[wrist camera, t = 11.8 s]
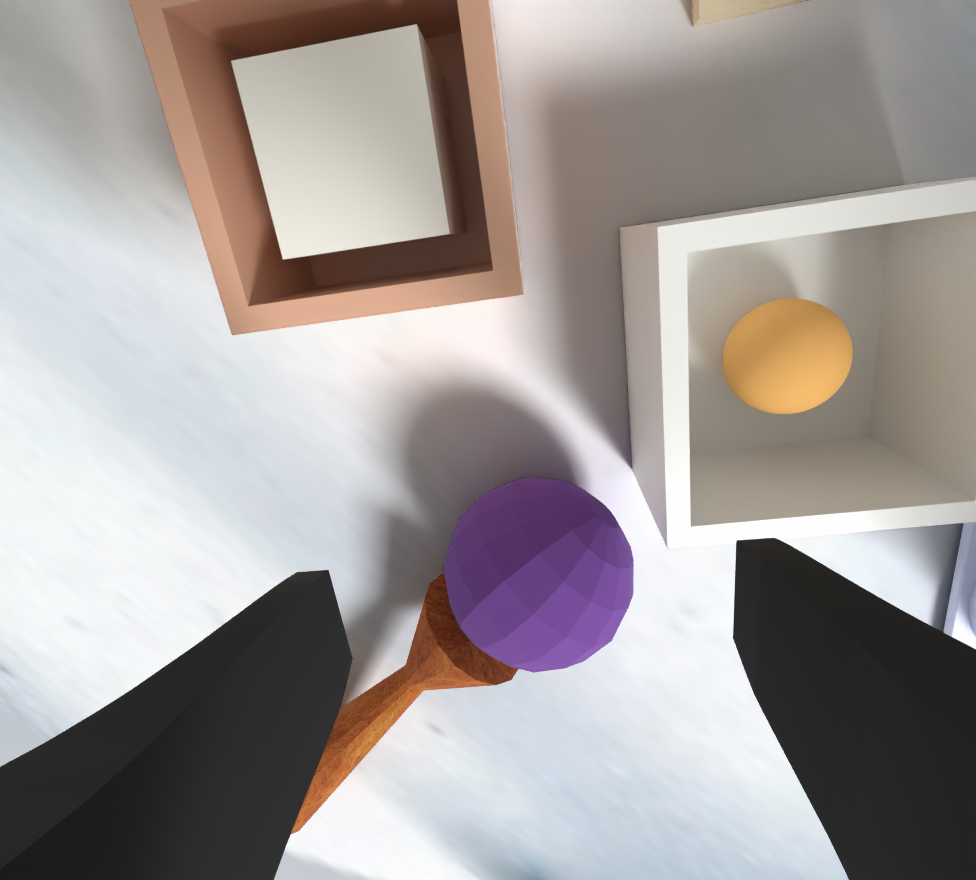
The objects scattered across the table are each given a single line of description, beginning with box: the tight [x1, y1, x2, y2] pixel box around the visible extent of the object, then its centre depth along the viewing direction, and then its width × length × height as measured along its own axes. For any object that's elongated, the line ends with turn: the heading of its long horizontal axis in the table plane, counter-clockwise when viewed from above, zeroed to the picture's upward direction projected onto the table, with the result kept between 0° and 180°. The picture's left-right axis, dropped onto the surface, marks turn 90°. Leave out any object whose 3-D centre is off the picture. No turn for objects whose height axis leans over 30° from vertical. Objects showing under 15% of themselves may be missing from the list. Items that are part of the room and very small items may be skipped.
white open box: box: [619, 177, 976, 549], centre depth 15 cm, size 8×8×5 cm
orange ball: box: [722, 298, 853, 414], centre depth 15 cm, size 3×3×3 cm
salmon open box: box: [129, 0, 523, 335], centre depth 14 cm, size 7×7×5 cm
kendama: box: [290, 477, 633, 835], centre depth 20 cm, size 6×6×20 cm
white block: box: [231, 24, 467, 260], centre depth 14 cm, size 4×4×4 cm
